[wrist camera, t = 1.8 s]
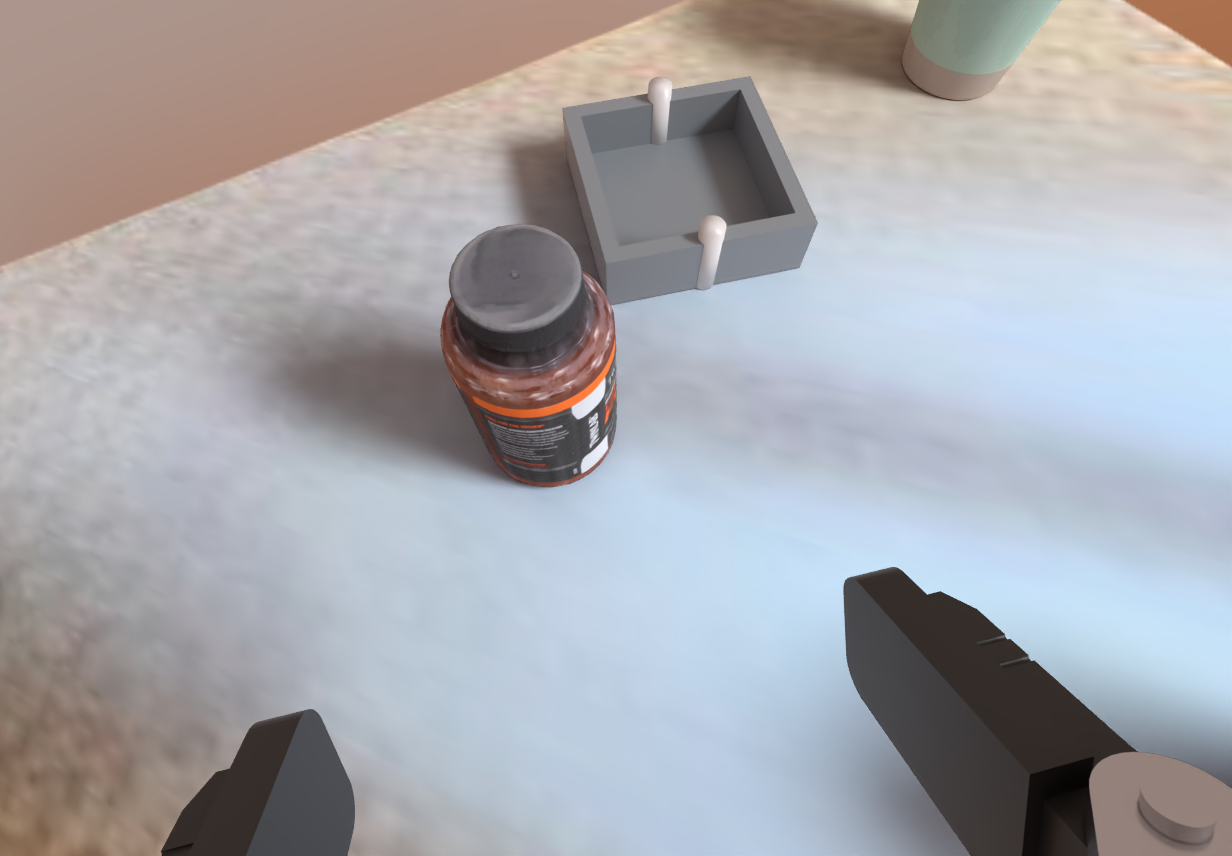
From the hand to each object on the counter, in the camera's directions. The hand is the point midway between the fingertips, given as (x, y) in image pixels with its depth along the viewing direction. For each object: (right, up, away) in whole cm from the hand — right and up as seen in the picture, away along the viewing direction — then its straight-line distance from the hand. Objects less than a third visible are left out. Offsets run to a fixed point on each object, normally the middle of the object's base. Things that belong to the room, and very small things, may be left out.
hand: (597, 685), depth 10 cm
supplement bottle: (-3, +4, +20) cm, 20 cm away
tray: (+4, +16, +25) cm, 29 cm away
